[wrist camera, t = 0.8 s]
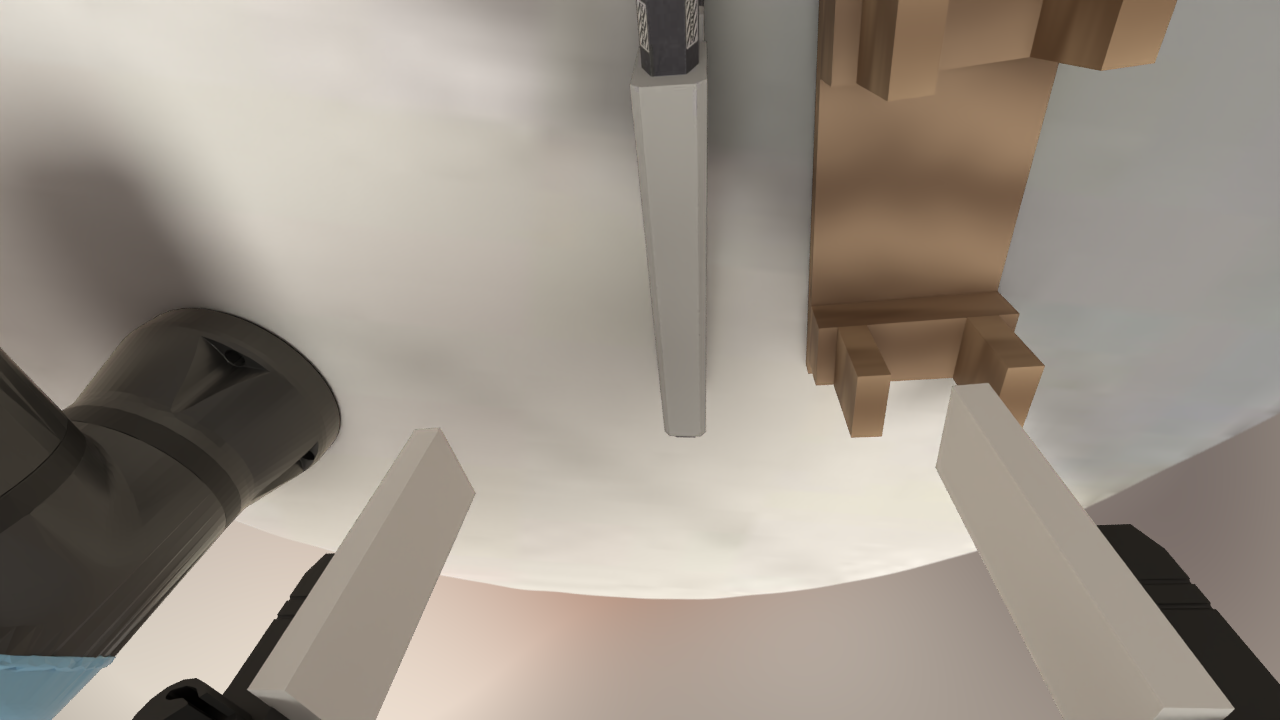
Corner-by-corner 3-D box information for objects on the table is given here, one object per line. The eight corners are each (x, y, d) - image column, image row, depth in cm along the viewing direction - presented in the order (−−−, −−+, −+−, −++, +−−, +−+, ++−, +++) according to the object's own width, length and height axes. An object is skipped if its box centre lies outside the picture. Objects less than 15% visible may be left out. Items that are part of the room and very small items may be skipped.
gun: (706, -128, 20) (707, -83, 13) (705, 330, 38) (705, 443, 32) (642, -121, 20) (612, -73, 14) (671, 330, 39) (665, 443, 32)
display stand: (970, 354, 32) (1038, 444, 26) (806, 364, 34) (830, 451, 27) (1090, -111, 20) (1277, -162, 13) (821, -58, 22) (871, -80, 15)
